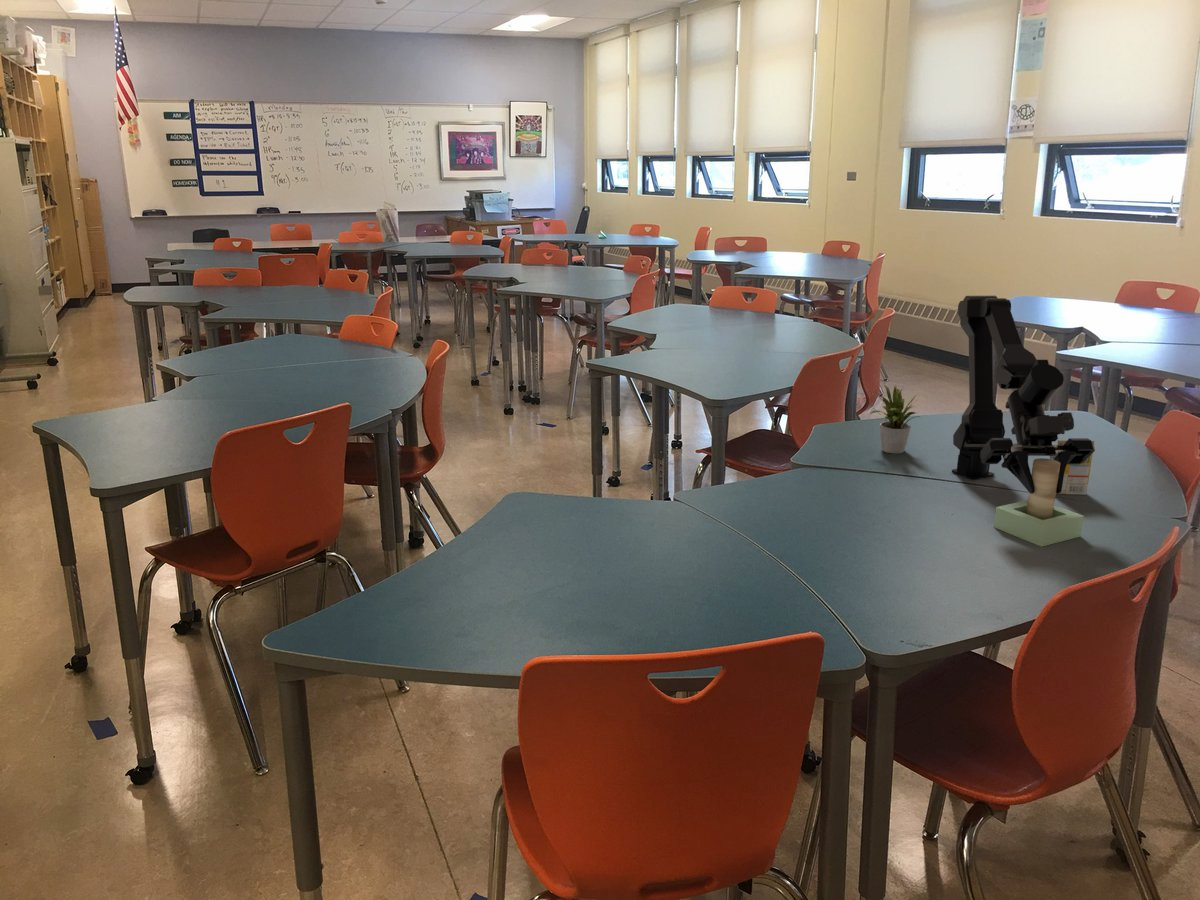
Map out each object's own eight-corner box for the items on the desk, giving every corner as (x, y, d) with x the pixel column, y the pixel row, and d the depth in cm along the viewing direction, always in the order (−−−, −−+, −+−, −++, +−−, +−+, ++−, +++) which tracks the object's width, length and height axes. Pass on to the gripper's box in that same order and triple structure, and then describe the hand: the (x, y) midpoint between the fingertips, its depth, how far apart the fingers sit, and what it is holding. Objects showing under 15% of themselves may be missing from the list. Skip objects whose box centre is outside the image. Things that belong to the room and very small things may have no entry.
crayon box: (1081, 490, 189) (1089, 437, 185) (1086, 495, 186) (1095, 441, 182) (1044, 489, 189) (1052, 436, 186) (1049, 494, 187) (1058, 440, 183)
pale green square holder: (1032, 517, 174) (1035, 498, 173) (1080, 536, 165) (1084, 516, 164) (993, 527, 170) (996, 507, 168) (1041, 546, 161) (1044, 525, 160)
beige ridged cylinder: (1026, 517, 170) (1035, 457, 166) (1052, 522, 168) (1061, 460, 164) (1023, 525, 166) (1031, 463, 163) (1049, 530, 164) (1058, 467, 160)
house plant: (846, 443, 222) (851, 378, 217) (894, 438, 226) (900, 374, 221) (880, 460, 209) (886, 391, 204) (931, 454, 213) (938, 387, 208)
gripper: (993, 395, 164) (1010, 473, 157) (1098, 396, 163) (1119, 473, 156) (973, 425, 174) (987, 499, 167) (1071, 426, 173) (1090, 500, 166)
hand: (1045, 492), depth 164 cm, fingers closed on beige ridged cylinder, 4 cm apart
